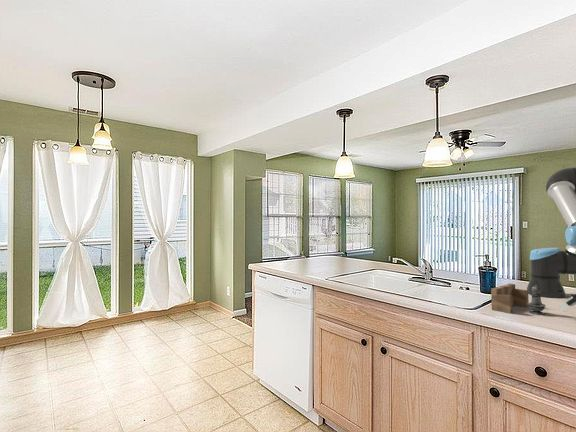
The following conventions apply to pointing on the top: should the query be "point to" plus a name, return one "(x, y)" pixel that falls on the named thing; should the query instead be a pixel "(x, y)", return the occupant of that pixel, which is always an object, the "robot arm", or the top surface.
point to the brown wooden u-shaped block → (508, 298)
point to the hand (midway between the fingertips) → (561, 308)
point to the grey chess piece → (536, 302)
